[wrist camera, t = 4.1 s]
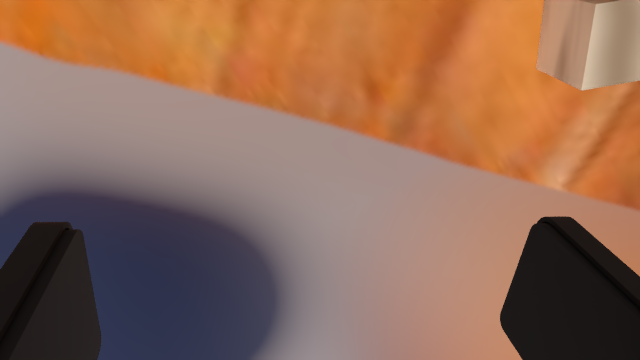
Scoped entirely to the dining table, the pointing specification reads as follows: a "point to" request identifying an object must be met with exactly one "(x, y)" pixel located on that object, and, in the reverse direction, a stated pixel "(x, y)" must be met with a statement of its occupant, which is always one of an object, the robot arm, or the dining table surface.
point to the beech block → (590, 42)
